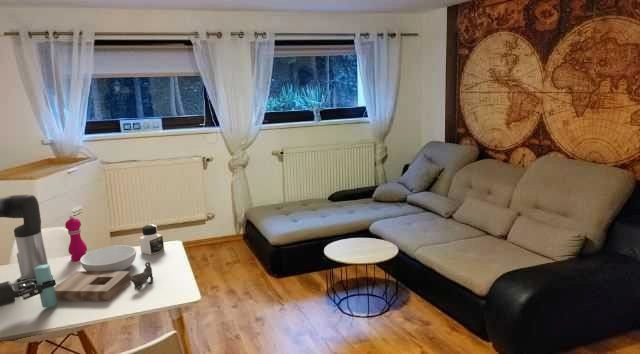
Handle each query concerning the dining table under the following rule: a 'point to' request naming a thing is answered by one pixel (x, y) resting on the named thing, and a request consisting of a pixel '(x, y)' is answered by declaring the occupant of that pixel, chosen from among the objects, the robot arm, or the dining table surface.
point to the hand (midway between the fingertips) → (53, 279)
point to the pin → (49, 293)
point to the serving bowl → (109, 258)
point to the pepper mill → (75, 239)
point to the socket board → (92, 285)
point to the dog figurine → (142, 277)
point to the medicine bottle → (151, 240)
